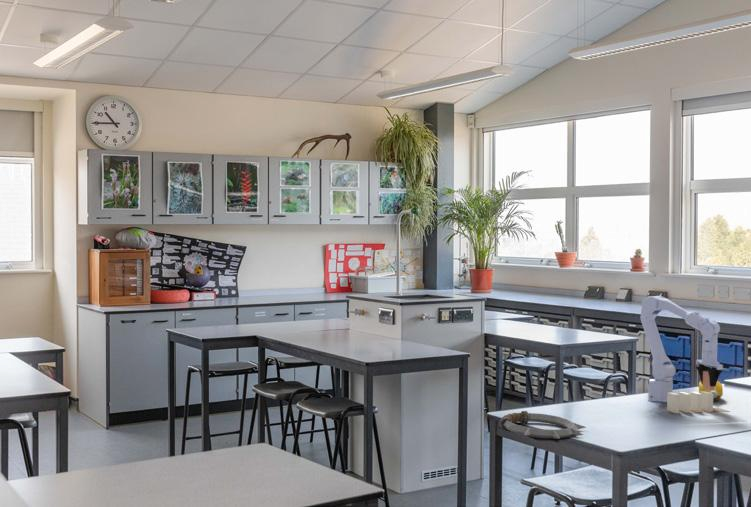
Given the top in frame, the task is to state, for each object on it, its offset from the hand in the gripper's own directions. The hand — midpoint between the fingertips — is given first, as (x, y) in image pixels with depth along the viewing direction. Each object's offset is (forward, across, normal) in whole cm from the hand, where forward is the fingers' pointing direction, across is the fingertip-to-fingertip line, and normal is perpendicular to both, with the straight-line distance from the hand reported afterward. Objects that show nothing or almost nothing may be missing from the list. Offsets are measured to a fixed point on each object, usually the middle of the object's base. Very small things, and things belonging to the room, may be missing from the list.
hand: (708, 384), depth 337 cm
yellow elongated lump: (+10, +16, -13) cm, 23 cm away
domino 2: (+9, -6, +15) cm, 18 cm away
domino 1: (+9, -6, +20) cm, 23 cm away
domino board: (+9, -6, +10) cm, 15 cm away
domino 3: (+9, -6, +10) cm, 15 cm away
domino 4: (+2, 0, 0) cm, 2 cm away
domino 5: (+9, -6, +5) cm, 12 cm away
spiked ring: (+10, -27, +84) cm, 89 cm away
